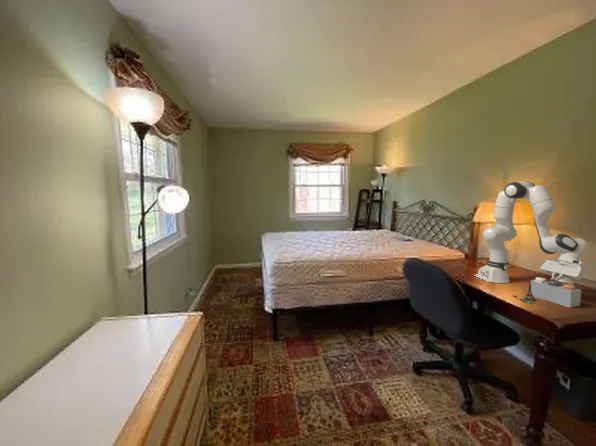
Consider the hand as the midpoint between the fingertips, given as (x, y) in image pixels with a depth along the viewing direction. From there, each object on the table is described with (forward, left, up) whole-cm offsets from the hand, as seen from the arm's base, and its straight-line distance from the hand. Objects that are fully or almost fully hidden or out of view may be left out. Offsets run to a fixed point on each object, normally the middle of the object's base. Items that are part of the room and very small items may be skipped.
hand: (554, 280), depth 177 cm
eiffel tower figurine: (-5, -13, -12) cm, 18 cm away
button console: (0, 0, -12) cm, 12 cm away
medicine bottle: (-8, +22, -12) cm, 27 cm away
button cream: (-7, 0, -9) cm, 11 cm away
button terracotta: (+8, 0, -8) cm, 11 cm away
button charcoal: (0, 0, -8) cm, 9 cm away
